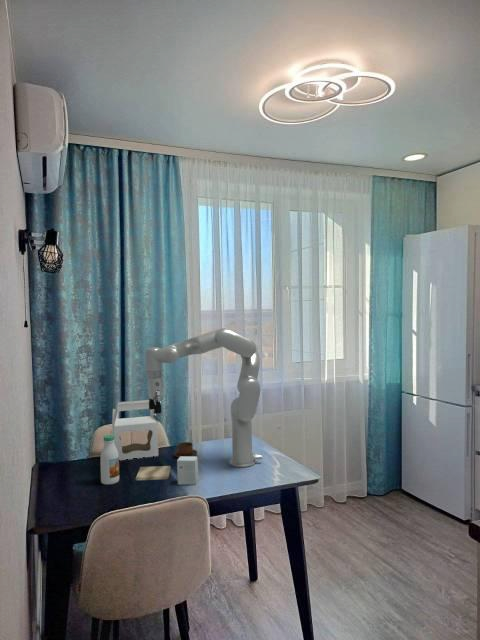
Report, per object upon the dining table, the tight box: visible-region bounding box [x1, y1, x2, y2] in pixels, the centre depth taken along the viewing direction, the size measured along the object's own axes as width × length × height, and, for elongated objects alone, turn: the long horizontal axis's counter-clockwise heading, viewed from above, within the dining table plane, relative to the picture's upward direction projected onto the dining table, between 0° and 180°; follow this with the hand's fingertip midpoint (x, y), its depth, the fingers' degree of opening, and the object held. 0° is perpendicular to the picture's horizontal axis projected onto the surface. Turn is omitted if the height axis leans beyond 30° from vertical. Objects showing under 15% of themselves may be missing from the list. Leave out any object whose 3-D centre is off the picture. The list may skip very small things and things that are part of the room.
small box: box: [176, 455, 199, 486], centre depth 199 cm, size 8×6×10 cm
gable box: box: [111, 399, 159, 461], centre depth 239 cm, size 22×13×28 cm, turn 108°
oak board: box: [135, 465, 172, 481], centre depth 210 cm, size 14×14×1 cm
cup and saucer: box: [173, 441, 198, 459], centre depth 236 cm, size 12×12×6 cm
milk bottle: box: [100, 434, 120, 485], centre depth 202 cm, size 8×8×20 cm
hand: (155, 411), depth 214 cm, fingers open, 9 cm apart
